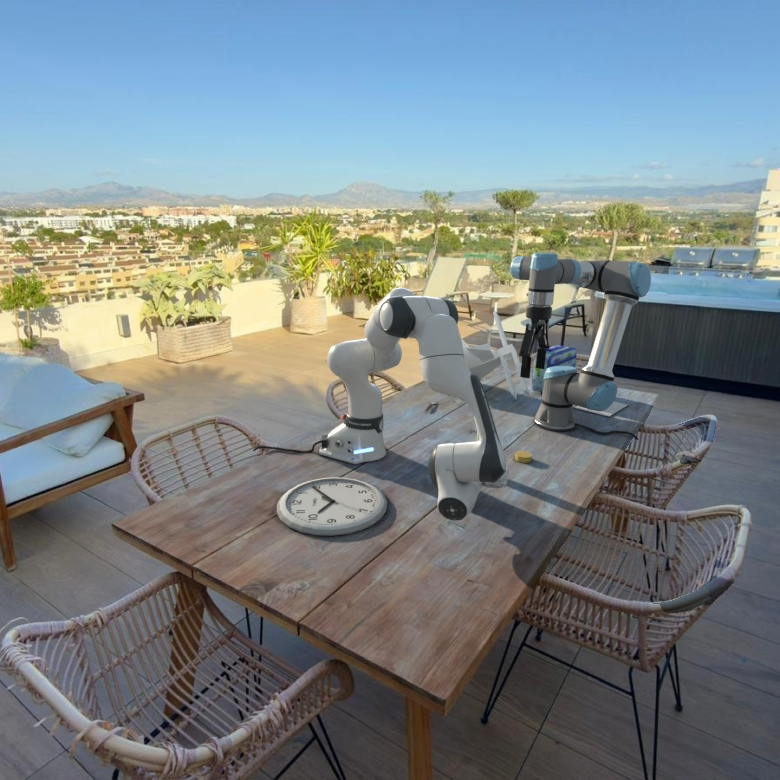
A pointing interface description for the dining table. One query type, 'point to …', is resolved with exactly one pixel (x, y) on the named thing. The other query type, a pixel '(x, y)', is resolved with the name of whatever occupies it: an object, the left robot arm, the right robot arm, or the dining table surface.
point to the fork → (432, 403)
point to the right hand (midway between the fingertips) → (532, 372)
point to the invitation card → (609, 411)
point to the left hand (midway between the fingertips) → (475, 459)
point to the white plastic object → (493, 359)
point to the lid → (523, 456)
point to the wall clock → (331, 506)
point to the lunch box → (553, 363)
